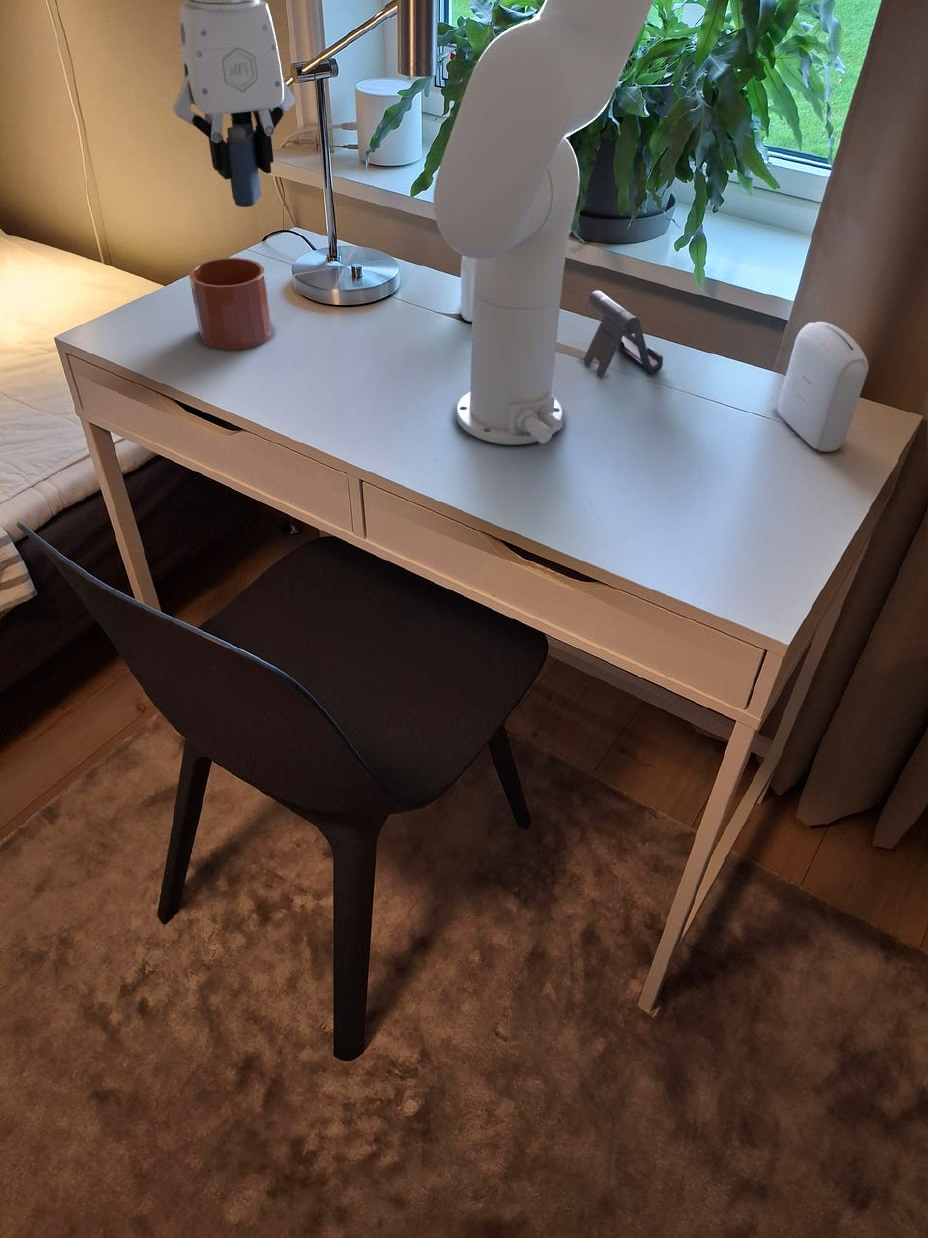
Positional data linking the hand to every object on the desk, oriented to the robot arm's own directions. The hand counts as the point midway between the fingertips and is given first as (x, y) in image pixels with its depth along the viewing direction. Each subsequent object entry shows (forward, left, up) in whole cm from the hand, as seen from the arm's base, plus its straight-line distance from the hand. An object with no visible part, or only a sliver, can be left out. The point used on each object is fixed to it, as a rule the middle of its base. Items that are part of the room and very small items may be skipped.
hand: (244, 171), depth 109 cm
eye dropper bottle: (-6, -30, -21) cm, 37 cm away
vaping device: (0, 0, -4) cm, 4 cm away
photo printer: (-51, -48, -22) cm, 73 cm away
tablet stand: (-27, -38, -22) cm, 52 cm away
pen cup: (+4, +3, -22) cm, 22 cm away
